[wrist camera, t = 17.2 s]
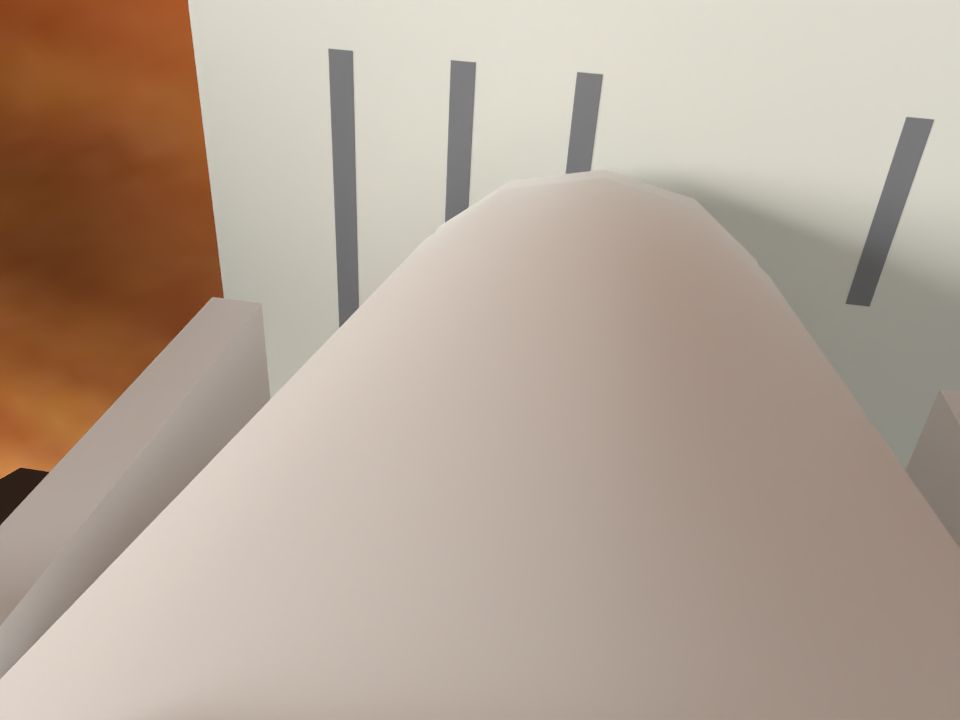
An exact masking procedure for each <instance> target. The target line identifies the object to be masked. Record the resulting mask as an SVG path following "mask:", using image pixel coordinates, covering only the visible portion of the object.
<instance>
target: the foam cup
mask: <svg viewBox="0 0 960 720" xmlns="http://www.w3.org/2000/svg"><path fill="white" fill-rule="evenodd" d="M0 720H960V548H959V547H958V545H957V544H956V543H955V541H954V540H953V538H952V537H951V535H950V534H949V533H948V531H947V530H946V528H945V527H944V525H943V524H942V523H941V521H940V520H939V518H938V517H937V515H936V514H935V513H934V511H933V510H932V508H931V507H930V505H929V504H928V503H927V501H926V500H925V498H924V497H923V495H922V494H921V493H920V491H919V490H918V488H917V487H916V485H915V484H914V483H913V481H912V480H911V478H910V477H909V475H908V474H907V473H906V471H905V470H904V468H903V467H902V465H901V464H900V463H899V461H898V460H897V458H896V457H895V455H894V454H893V453H892V451H891V450H890V448H889V447H888V445H887V444H886V443H885V441H884V440H883V438H882V437H881V435H880V434H879V433H878V431H877V430H876V428H875V427H874V425H873V424H872V423H871V421H870V420H869V418H868V417H867V415H866V414H865V413H864V411H863V410H862V408H861V407H860V405H859V404H858V403H857V401H856V400H855V398H854V397H853V395H852V394H851V393H850V391H849V390H848V388H847V387H846V385H845V384H844V383H843V381H842V380H841V378H840V377H839V375H838V374H837V373H836V371H835V370H834V368H833V367H832V365H831V364H830V363H829V361H828V360H827V358H826V357H825V355H824V354H823V353H822V351H821V350H820V348H819V347H818V345H817V344H816V343H815V341H814V340H813V338H812V337H811V335H810V334H809V333H808V331H807V330H806V328H805V327H804V325H803V324H802V323H801V321H800V320H799V318H798V317H797V315H796V314H795V313H794V311H793V310H792V308H791V307H790V305H789V304H788V303H787V301H786V300H785V298H784V297H783V296H782V294H781V293H780V291H779V290H778V288H777V287H776V286H775V284H774V283H773V281H772V280H771V278H770V277H769V276H768V275H767V274H766V273H765V272H764V271H763V270H762V269H761V268H760V267H759V266H758V263H757V260H756V259H755V258H754V257H753V256H752V255H751V254H750V253H748V252H747V251H746V250H745V249H744V248H743V247H742V246H741V245H740V244H739V243H738V242H737V241H736V240H735V239H734V238H733V237H732V236H731V235H730V234H729V233H728V232H727V231H726V230H725V229H724V228H723V227H722V226H721V225H720V224H719V223H718V222H717V221H716V220H715V219H714V218H713V217H712V216H711V215H710V214H709V213H708V212H707V211H706V210H705V209H704V208H703V207H702V206H701V205H700V204H699V203H698V202H697V201H696V200H695V199H693V198H690V197H687V196H684V195H681V194H678V193H675V192H672V191H669V190H666V189H663V188H659V187H656V186H653V185H650V184H647V183H644V182H641V181H638V180H635V179H632V178H629V177H626V176H623V175H620V174H617V173H614V172H611V171H607V170H596V171H587V172H579V173H571V174H562V175H554V176H545V177H537V178H529V179H520V180H512V181H510V182H508V183H506V184H505V185H503V186H502V187H500V188H499V189H497V190H495V191H494V192H492V193H491V194H489V195H488V196H486V197H485V198H483V199H481V200H480V201H478V202H477V203H475V204H474V205H472V206H470V207H469V208H467V209H466V210H464V211H463V212H461V213H459V214H458V215H456V216H455V217H453V218H452V219H450V220H448V221H447V222H445V223H444V224H442V225H441V226H439V227H438V228H437V230H436V232H435V233H434V234H432V235H431V236H429V237H428V238H426V239H425V240H424V241H423V242H422V243H421V244H420V245H419V246H418V247H417V248H416V249H415V250H414V251H413V252H412V253H411V254H410V255H409V256H408V257H407V258H406V260H405V261H404V262H403V263H402V264H401V265H400V266H399V267H398V268H397V269H396V270H395V271H394V272H393V273H392V274H391V275H390V276H389V277H388V278H387V279H386V280H385V281H384V282H383V283H382V284H381V285H380V286H379V288H378V289H377V290H376V291H375V292H374V293H373V294H372V295H371V296H370V297H369V298H368V299H367V300H366V301H365V302H364V303H363V304H362V305H361V306H360V307H359V308H358V309H357V310H356V311H355V312H354V313H353V314H352V315H351V317H350V318H349V319H348V320H347V321H346V322H345V323H344V324H343V325H342V326H341V327H340V328H339V329H338V330H337V331H336V332H335V333H334V334H333V335H332V336H331V337H330V338H329V339H328V340H327V341H326V342H325V343H324V344H323V346H322V347H321V348H320V349H319V350H318V351H317V352H316V353H315V354H314V355H313V356H312V357H311V358H310V359H309V360H308V361H307V362H306V363H305V364H304V365H303V366H302V367H301V368H300V369H299V370H298V371H297V372H296V374H295V375H294V376H293V377H292V378H291V379H290V380H289V381H288V382H287V383H286V384H285V385H284V386H283V387H282V388H281V389H280V390H279V391H278V392H277V393H276V394H275V395H274V396H273V397H272V398H271V399H270V400H269V401H268V403H267V404H266V405H265V406H264V407H263V408H262V409H261V410H260V411H259V412H258V413H257V414H256V415H255V416H254V417H253V418H252V419H251V420H250V421H249V422H248V423H247V424H246V425H245V426H244V427H243V428H242V429H241V430H240V432H239V433H238V434H237V435H236V436H235V437H234V438H233V439H232V440H231V441H230V442H229V443H228V444H227V445H226V446H225V447H224V448H223V449H222V450H221V451H220V452H219V453H218V454H217V455H216V456H215V457H214V458H213V460H212V461H211V462H210V463H209V464H208V465H207V466H206V467H205V468H204V469H203V470H202V471H201V472H200V473H199V474H198V475H197V476H196V477H195V478H194V479H193V480H192V481H191V482H190V483H189V484H188V485H187V486H186V487H185V489H184V490H183V491H182V492H181V493H180V494H179V495H178V496H177V497H176V498H175V499H174V500H173V501H172V502H171V503H170V504H169V505H168V506H167V507H166V508H165V509H164V510H163V511H162V512H161V513H160V514H159V515H158V516H157V518H156V519H155V520H154V521H153V522H152V523H151V524H150V525H149V526H148V527H147V528H146V529H145V530H144V531H143V532H142V533H141V534H140V535H139V536H138V537H137V538H136V539H135V540H134V541H133V542H132V543H131V544H130V546H129V547H128V548H127V549H126V550H125V551H124V552H123V553H122V554H121V555H120V556H119V557H118V558H117V559H116V560H115V561H114V562H113V563H112V564H111V565H110V566H109V567H108V568H107V569H106V570H105V571H104V572H103V573H102V575H101V576H100V577H99V578H98V579H97V580H96V581H95V582H94V583H93V584H92V585H91V586H90V587H89V588H88V589H87V590H86V591H85V592H84V593H83V594H82V595H81V596H80V597H79V598H78V599H77V600H76V601H75V602H74V604H73V605H72V606H71V607H70V608H69V609H68V610H67V611H66V612H65V613H64V614H63V615H62V616H61V617H60V618H59V619H58V620H57V621H56V622H55V623H54V624H53V625H52V626H51V627H50V628H49V629H48V630H47V632H46V633H45V634H44V635H43V636H42V637H41V638H40V639H39V640H38V641H37V642H36V643H35V644H34V645H33V646H32V647H31V648H30V649H29V650H28V651H27V652H26V653H25V654H24V655H23V656H22V657H21V658H20V659H19V661H18V662H17V663H16V664H15V665H14V666H13V667H12V668H11V669H10V670H9V671H8V672H7V673H6V674H5V675H4V676H3V677H2V678H1V679H0Z"/></svg>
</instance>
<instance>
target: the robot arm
mask: <svg viewBox="0 0 960 720" xmlns="http://www.w3.org/2000/svg"><path fill="white" fill-rule="evenodd" d="M270 399H271V398H270V387H269V377H268V366H267V355H266V345H265V334H264V323H263V313H262V303H256V302H248V301H240V300H232V299H224V298H216V297H212V298H211V299H210V300H209V301H208V302H207V303H206V304H205V306H204V307H203V308H202V309H201V310H200V311H199V312H198V313H197V314H196V315H195V316H194V317H193V318H192V320H191V321H190V322H189V323H188V324H187V325H186V326H185V327H184V328H183V329H182V330H181V331H180V332H179V334H178V335H177V336H176V337H175V338H174V339H173V340H172V341H171V342H170V343H169V344H168V345H167V346H166V348H165V349H164V350H163V351H162V352H161V353H160V354H159V355H158V356H157V357H156V358H155V359H154V360H153V362H152V363H151V364H150V365H149V366H148V367H147V368H146V369H145V370H144V371H143V372H142V373H141V374H140V376H139V377H138V378H137V379H136V380H135V381H134V382H133V383H132V384H131V385H130V386H129V387H128V388H127V390H126V391H125V392H124V393H123V394H122V395H121V396H120V397H119V398H118V399H117V400H116V401H115V402H114V404H113V405H112V406H111V407H110V408H109V409H108V410H107V411H106V412H105V413H104V414H103V415H102V416H101V417H100V419H99V420H98V421H97V422H96V423H95V424H94V425H93V426H92V427H91V428H90V429H89V430H88V431H87V433H86V434H85V435H84V436H83V437H82V438H81V439H80V440H79V441H78V442H77V443H76V444H75V445H74V447H73V448H72V449H71V450H70V451H69V452H68V453H67V454H66V455H65V456H64V457H63V458H62V459H61V461H60V462H59V463H58V464H57V465H56V466H55V467H54V468H53V469H52V470H51V471H50V472H45V471H39V470H32V469H25V468H19V469H17V470H16V471H14V472H12V473H10V474H9V475H7V476H5V477H4V478H2V479H0V679H1V678H2V677H3V676H4V675H5V674H6V673H7V672H8V671H9V670H10V669H11V668H12V667H13V666H14V665H15V664H16V663H17V662H18V661H19V659H20V658H21V657H22V656H23V655H24V654H25V653H26V652H27V651H28V650H29V649H30V648H31V647H32V646H33V645H34V644H35V643H36V642H37V641H38V640H39V639H40V638H41V637H42V636H43V635H44V634H45V633H46V632H47V630H48V629H49V628H50V627H51V626H52V625H53V624H54V623H55V622H56V621H57V620H58V619H59V618H60V617H61V616H62V615H63V614H64V613H65V612H66V611H67V610H68V609H69V608H70V607H71V606H72V605H73V604H74V602H75V601H76V600H77V599H78V598H79V597H80V596H81V595H82V594H83V593H84V592H85V591H86V590H87V589H88V588H89V587H90V586H91V585H92V584H93V583H94V582H95V581H96V580H97V579H98V578H99V577H100V576H101V575H102V573H103V572H104V571H105V570H106V569H107V568H108V567H109V566H110V565H111V564H112V563H113V562H114V561H115V560H116V559H117V558H118V557H119V556H120V555H121V554H122V553H123V552H124V551H125V550H126V549H127V548H128V547H129V546H130V544H131V543H132V542H133V541H134V540H135V539H136V538H137V537H138V536H139V535H140V534H141V533H142V532H143V531H144V530H145V529H146V528H147V527H148V526H149V525H150V524H151V523H152V522H153V521H154V520H155V519H156V518H157V516H158V515H159V514H160V513H161V512H162V511H163V510H164V509H165V508H166V507H167V506H168V505H169V504H170V503H171V502H172V501H173V500H174V499H175V498H176V497H177V496H178V495H179V494H180V493H181V492H182V491H183V490H184V489H185V487H186V486H187V485H188V484H189V483H190V482H191V481H192V480H193V479H194V478H195V477H196V476H197V475H198V474H199V473H200V472H201V471H202V470H203V469H204V468H205V467H206V466H207V465H208V464H209V463H210V462H211V461H212V460H213V458H214V457H215V456H216V455H217V454H218V453H219V452H220V451H221V450H222V449H223V448H224V447H225V446H226V445H227V444H228V443H229V442H230V441H231V440H232V439H233V438H234V437H235V436H236V435H237V434H238V433H239V432H240V430H241V429H242V428H243V427H244V426H245V425H246V424H247V423H248V422H249V421H250V420H251V419H252V418H253V417H254V416H255V415H256V414H257V413H258V412H259V411H260V410H261V409H262V408H263V407H264V406H265V405H266V404H267V403H268V401H269V400H270ZM906 473H907V474H908V475H909V477H910V478H911V480H912V481H913V483H914V484H915V485H916V487H917V488H918V490H919V491H920V493H921V494H922V495H923V497H924V498H925V500H926V501H927V503H928V504H929V505H930V507H931V508H932V510H933V511H934V513H935V514H936V515H937V517H938V518H939V520H940V521H941V523H942V524H943V525H944V527H945V528H946V530H947V531H948V533H949V534H950V535H951V537H952V538H953V540H954V541H955V543H956V544H957V545H958V547H959V548H960V392H957V391H949V390H941V389H940V390H939V392H938V394H937V397H936V399H935V402H934V404H933V406H932V409H931V411H930V413H929V416H928V418H927V421H926V423H925V425H924V428H923V430H922V432H921V435H920V437H919V440H918V442H917V444H916V447H915V449H914V452H913V454H912V456H911V459H910V461H909V463H908V466H907V468H906Z"/></svg>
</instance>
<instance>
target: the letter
mask: <svg viewBox="0 0 960 720" xmlns="http://www.w3.org/2000/svg"><path fill="white" fill-rule="evenodd" d="M188 5H189V13H190V21H191V30H192V38H193V46H194V54H195V63H196V71H197V79H198V87H199V96H200V104H201V112H202V121H203V129H204V137H205V145H206V154H207V162H208V170H209V178H210V187H211V195H212V203H213V211H214V220H215V228H216V236H217V244H218V253H219V261H220V269H221V277H222V286H223V294H224V299H232V300H240V301H248V302H256V303H262V313H263V323H264V334H265V345H266V355H267V366H268V377H269V387H270V398H272V397H273V396H274V395H275V394H276V393H277V392H278V391H279V390H280V389H281V388H282V387H283V386H284V385H285V384H286V383H287V382H288V381H289V380H290V379H291V378H292V377H293V376H294V375H295V374H296V372H297V371H298V370H299V369H300V368H301V367H302V366H303V365H304V364H305V363H306V362H307V361H308V360H309V359H310V358H311V357H312V356H313V355H314V354H315V353H316V352H317V351H318V350H319V349H320V348H321V347H322V346H323V344H324V343H325V342H326V341H327V340H328V339H329V338H330V337H331V336H332V335H333V334H334V333H335V332H336V331H337V330H338V329H339V328H340V327H341V326H342V325H343V324H344V323H345V322H346V321H347V320H348V319H349V318H350V317H351V315H352V314H353V313H354V312H355V311H356V310H357V309H358V308H359V307H360V306H361V305H362V304H363V303H364V302H365V301H366V300H367V299H368V298H369V297H370V296H371V295H372V294H373V293H374V292H375V291H376V290H377V289H378V288H379V286H380V285H381V284H382V283H383V282H384V281H385V280H386V279H387V278H388V277H389V276H390V275H391V274H392V273H393V272H394V271H395V270H396V269H397V268H398V267H399V266H400V265H401V264H402V263H403V262H404V261H405V260H406V258H407V257H408V256H409V255H410V254H411V253H412V252H413V251H414V250H415V249H416V248H417V247H418V246H419V245H420V244H421V243H422V242H423V241H424V240H425V239H426V238H428V237H429V236H431V235H432V234H434V233H435V232H436V230H437V228H438V227H439V226H441V225H442V224H444V223H445V222H447V221H448V220H450V219H452V218H453V217H455V216H456V215H458V214H459V213H461V212H463V211H464V210H466V209H467V208H469V207H470V206H472V205H474V204H475V203H477V202H478V201H480V200H481V199H483V198H485V197H486V196H488V195H489V194H491V193H492V192H494V191H495V190H497V189H499V188H500V187H502V186H503V185H505V184H506V183H508V182H510V181H512V180H520V179H529V178H537V177H545V176H554V175H562V174H571V173H579V172H587V171H596V170H607V171H611V172H614V173H617V174H620V175H623V176H626V177H629V178H632V179H635V180H638V181H641V182H644V183H647V184H650V185H653V186H656V187H659V188H663V189H666V190H669V191H672V192H675V193H678V194H681V195H684V196H687V197H690V198H693V199H695V200H696V201H697V202H698V203H699V204H700V205H701V206H702V207H703V208H704V209H705V210H706V211H707V212H708V213H709V214H710V215H711V216H712V217H713V218H714V219H715V220H716V221H717V222H718V223H719V224H720V225H721V226H722V227H723V228H724V229H725V230H726V231H727V232H728V233H729V234H730V235H731V236H732V237H733V238H734V239H735V240H736V241H737V242H738V243H739V244H740V245H741V246H742V247H743V248H744V249H745V250H746V251H747V252H748V253H750V254H751V255H752V256H753V257H754V258H755V259H756V260H757V263H758V266H759V267H760V268H761V269H762V270H763V271H764V272H765V273H766V274H767V275H768V276H769V277H770V278H771V280H772V281H773V283H774V284H775V286H776V287H777V288H778V290H779V291H780V293H781V294H782V296H783V297H784V298H785V300H786V301H787V303H788V304H789V305H790V307H791V308H792V310H793V311H794V313H795V314H796V315H797V317H798V318H799V320H800V321H801V323H802V324H803V325H804V327H805V328H806V330H807V331H808V333H809V334H810V335H811V337H812V338H813V340H814V341H815V343H816V344H817V345H818V347H819V348H820V350H821V351H822V353H823V354H824V355H825V357H826V358H827V360H828V361H829V363H830V364H831V365H832V367H833V368H834V370H835V371H836V373H837V374H838V375H839V377H840V378H841V380H842V381H843V383H844V384H845V385H846V387H847V388H848V390H849V391H850V393H851V394H852V395H853V397H854V398H855V400H856V401H857V403H858V404H859V405H860V407H861V408H862V410H863V411H864V413H865V414H866V415H867V417H868V418H869V420H870V421H871V423H872V424H873V425H874V427H875V428H876V430H877V431H878V433H879V434H880V435H881V437H882V438H883V440H884V441H885V443H886V444H887V445H888V447H889V448H890V450H891V451H892V453H893V454H894V455H895V457H896V458H897V460H898V461H899V463H900V464H901V465H902V467H903V468H904V470H905V471H906V468H907V466H908V463H909V461H910V459H911V456H912V454H913V452H914V449H915V447H916V444H917V442H918V440H919V437H920V435H921V432H922V430H923V428H924V425H925V423H926V421H927V418H928V416H929V413H930V411H931V409H932V406H933V404H934V402H935V399H936V397H937V394H938V392H939V390H940V389H941V390H949V391H957V392H960V0H188Z"/></svg>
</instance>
